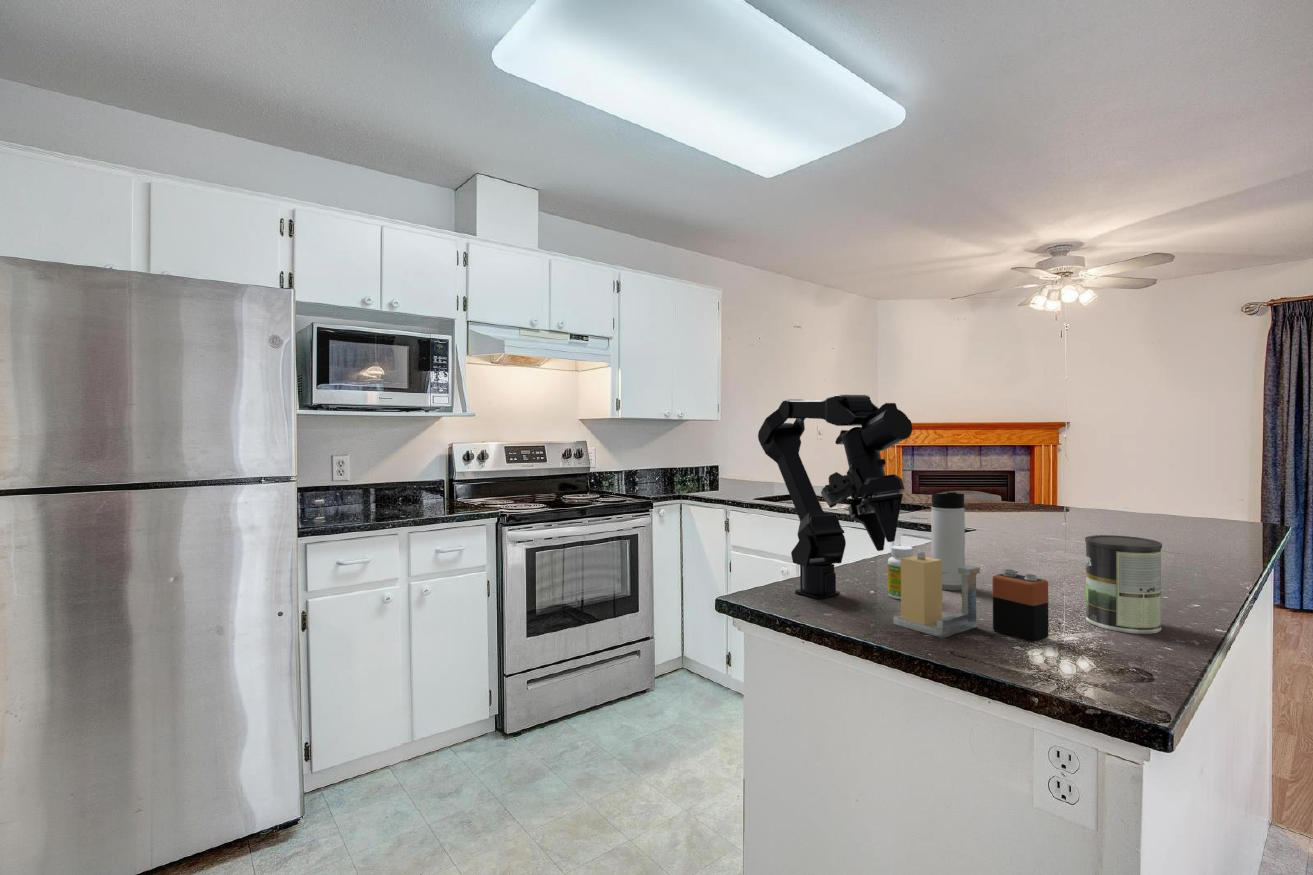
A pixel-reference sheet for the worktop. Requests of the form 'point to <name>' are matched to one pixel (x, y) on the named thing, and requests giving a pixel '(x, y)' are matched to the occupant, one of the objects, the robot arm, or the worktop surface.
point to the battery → (1020, 605)
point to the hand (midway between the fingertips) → (885, 546)
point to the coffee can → (1123, 583)
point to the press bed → (949, 622)
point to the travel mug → (949, 537)
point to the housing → (921, 588)
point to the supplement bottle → (896, 569)
